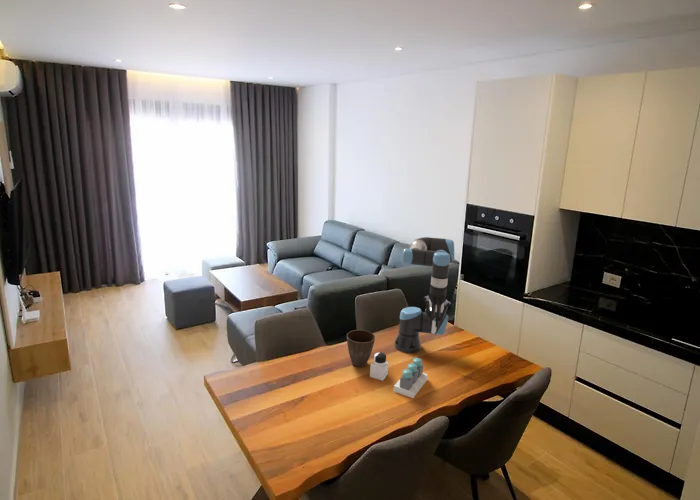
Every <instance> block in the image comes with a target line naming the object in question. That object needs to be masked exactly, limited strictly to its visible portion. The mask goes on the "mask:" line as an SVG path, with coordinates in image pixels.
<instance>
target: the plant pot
mask: <svg viewBox="0 0 700 500" xmlns="http://www.w3.org/2000/svg"><path fill="white" fill-rule="evenodd" d="M375 340H376V335H375V334H374V333H372V332H370V331H367V330H365V329H364V330H363V329H354V330H351V331H349V332H348V333H346V342H347V350H348V353H349V357H350V358H349V359H350V361H351V364H352V365H353V366H354V367H356V368H364V367H365V366H366V365H367V363H368V361H369V359H370V357H371V354H372V351H373V347H374V344H375Z"/></svg>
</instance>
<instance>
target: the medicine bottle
mask: <svg viewBox="0 0 700 500" xmlns="http://www.w3.org/2000/svg"><path fill="white" fill-rule="evenodd" d="M388 373H389V361H387V355H386V354H385V353H384V352H375V353H374V355H373V361H372V362H371V363H370V370H369V378H372V379H376V380H379V381H381V382H383V381H384V380H385V378H387V376H388Z"/></svg>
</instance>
